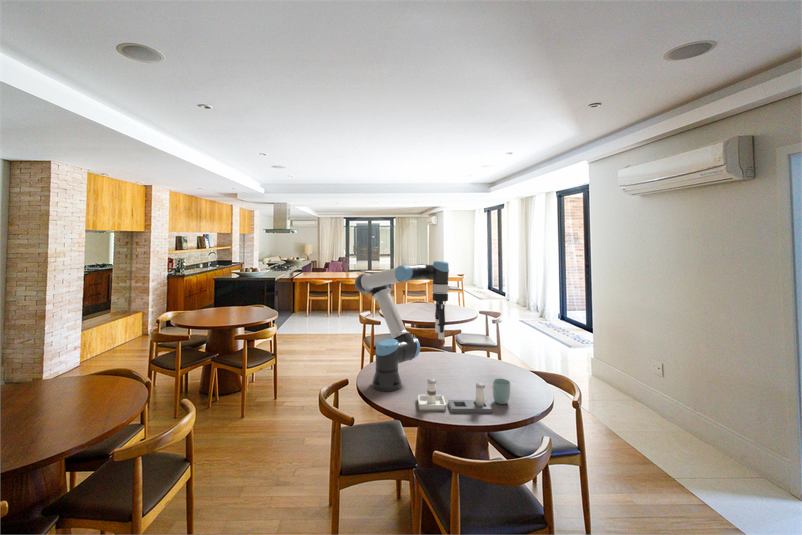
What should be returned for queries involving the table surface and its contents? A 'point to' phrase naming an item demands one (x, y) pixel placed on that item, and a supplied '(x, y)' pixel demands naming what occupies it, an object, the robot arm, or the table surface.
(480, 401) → the cylinder
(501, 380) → the cup
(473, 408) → the holder
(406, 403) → the table surface
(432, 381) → the cylinder
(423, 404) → the tray
